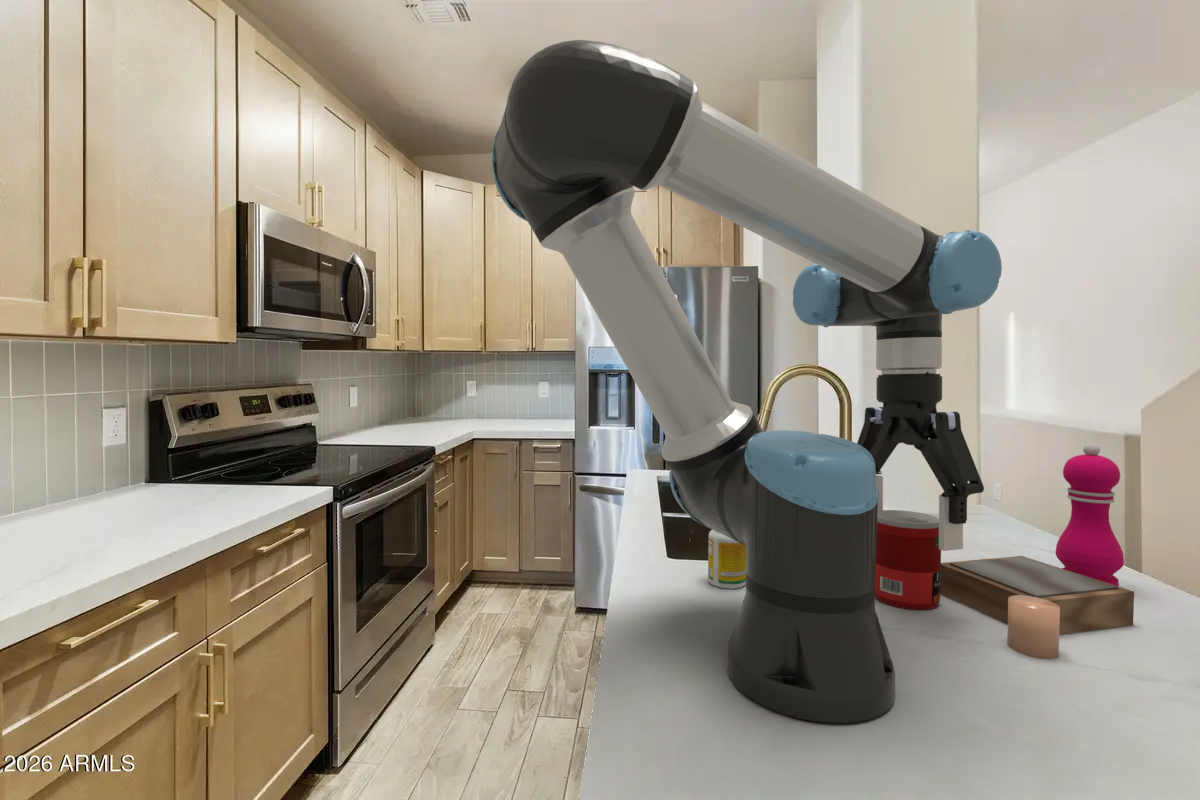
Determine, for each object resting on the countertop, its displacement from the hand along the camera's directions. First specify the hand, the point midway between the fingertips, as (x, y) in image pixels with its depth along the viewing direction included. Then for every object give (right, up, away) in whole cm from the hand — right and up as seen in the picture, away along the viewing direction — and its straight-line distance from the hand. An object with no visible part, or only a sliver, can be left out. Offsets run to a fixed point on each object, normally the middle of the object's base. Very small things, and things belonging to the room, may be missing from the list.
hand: (908, 534), depth 75 cm
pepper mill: (+27, -9, +4) cm, 29 cm away
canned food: (0, -9, 0) cm, 9 cm away
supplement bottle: (-22, -9, +6) cm, 25 cm away
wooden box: (+14, -9, -3) cm, 16 cm away
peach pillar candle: (+6, -9, -14) cm, 17 cm away
